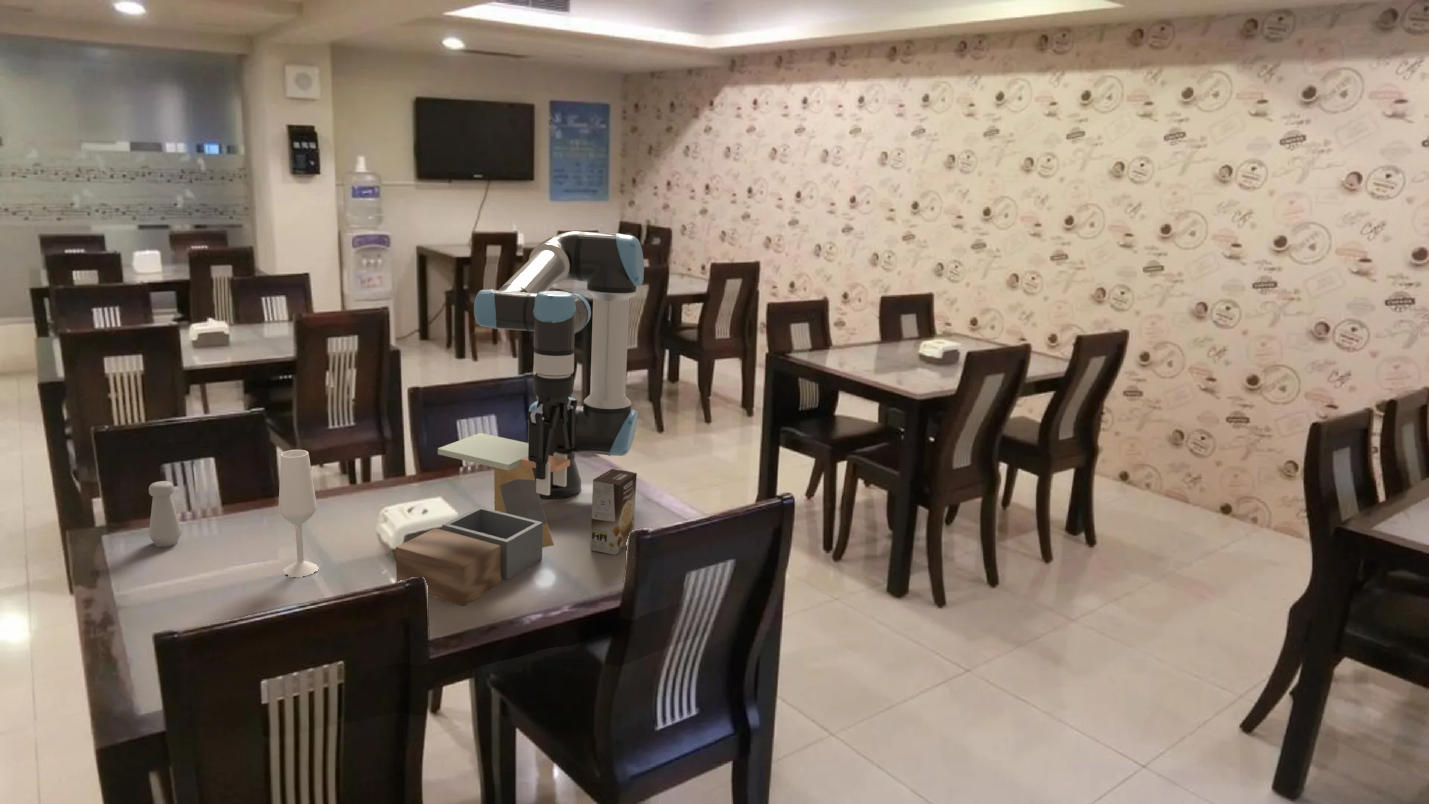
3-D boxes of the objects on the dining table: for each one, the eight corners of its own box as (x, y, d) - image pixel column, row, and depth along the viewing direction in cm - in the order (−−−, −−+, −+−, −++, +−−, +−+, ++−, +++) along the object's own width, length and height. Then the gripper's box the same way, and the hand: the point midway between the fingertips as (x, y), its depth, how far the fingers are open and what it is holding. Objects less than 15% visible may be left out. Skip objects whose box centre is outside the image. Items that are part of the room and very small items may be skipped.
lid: (479, 438, 192) (479, 432, 192) (581, 460, 183) (581, 454, 182) (437, 454, 181) (437, 448, 180) (543, 478, 171) (543, 472, 171)
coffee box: (616, 556, 194) (619, 485, 190) (589, 550, 196) (591, 479, 192) (634, 540, 203) (637, 472, 199) (608, 535, 205) (610, 467, 201)
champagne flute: (278, 567, 179) (271, 451, 173) (314, 560, 183) (308, 446, 177) (287, 580, 174) (279, 461, 168) (324, 572, 178) (318, 456, 172)
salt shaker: (189, 541, 188) (184, 482, 185) (162, 551, 183) (156, 490, 180) (170, 535, 190) (164, 476, 187) (143, 544, 185) (137, 484, 182)
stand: (435, 564, 185) (435, 528, 183) (500, 583, 179) (500, 545, 177) (396, 585, 175) (395, 546, 173) (463, 606, 169) (463, 566, 167)
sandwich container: (517, 553, 193) (518, 486, 189) (493, 527, 206) (493, 464, 202) (555, 546, 198) (557, 480, 194) (529, 521, 210) (530, 459, 206)
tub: (480, 541, 197) (480, 506, 195) (542, 558, 191) (542, 522, 189) (442, 561, 187) (442, 524, 185) (506, 579, 180) (507, 542, 178)
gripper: (563, 362, 182) (561, 472, 188) (508, 379, 166) (507, 499, 172) (595, 368, 180) (592, 479, 185) (542, 386, 164) (540, 507, 169)
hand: (551, 489), depth 179 cm, fingers closed on lid, 5 cm apart
